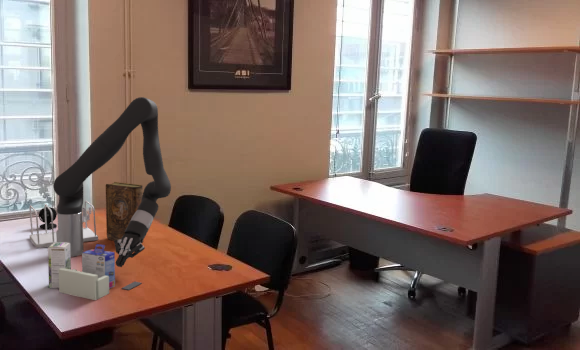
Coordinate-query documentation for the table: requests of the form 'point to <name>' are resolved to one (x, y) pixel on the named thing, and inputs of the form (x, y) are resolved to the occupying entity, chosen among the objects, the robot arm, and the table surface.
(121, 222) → the book
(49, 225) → the webcam
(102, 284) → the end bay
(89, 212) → the architectural model
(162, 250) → the table surface
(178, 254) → the table surface
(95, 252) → the ink cartridge box
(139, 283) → the pad
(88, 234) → the file sorter
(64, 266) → the syrup box
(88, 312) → the table surface
